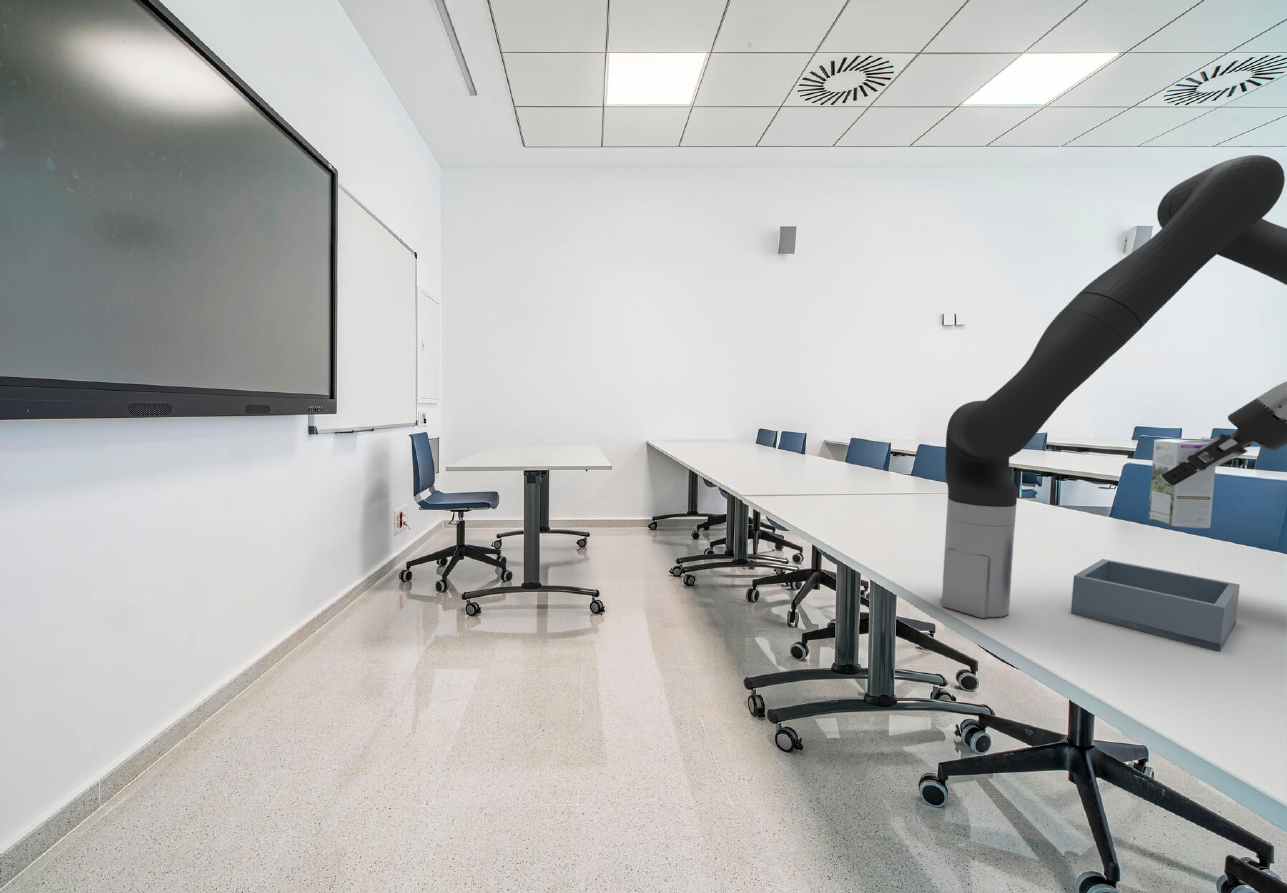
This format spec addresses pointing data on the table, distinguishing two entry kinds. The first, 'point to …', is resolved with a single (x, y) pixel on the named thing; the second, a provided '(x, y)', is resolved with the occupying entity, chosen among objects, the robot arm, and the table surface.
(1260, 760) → the table surface
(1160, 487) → the syrup box
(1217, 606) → the tote
